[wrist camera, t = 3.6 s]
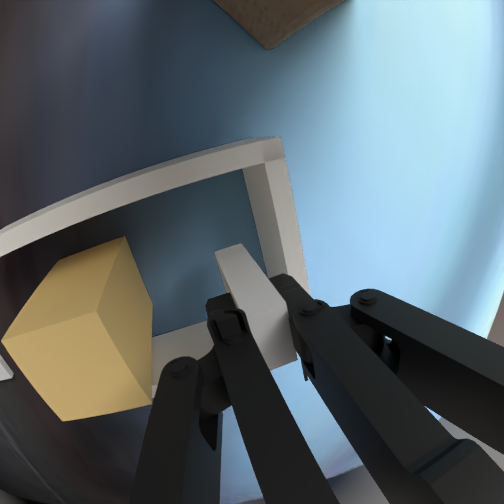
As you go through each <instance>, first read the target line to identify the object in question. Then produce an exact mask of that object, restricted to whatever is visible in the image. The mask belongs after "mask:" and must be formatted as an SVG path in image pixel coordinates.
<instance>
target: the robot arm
mask: <svg viewBox="0 0 504 504" xmlns="http://www.w3.org/2000/svg"><path fill="white" fill-rule="evenodd" d="M214 254H215V257H216V261H217V264H218V267H219V270H220V274H221V277H222V280H223V283H224V286H225V290H226V294H223V295H220V296H217V297H214V298H211V299H208V301H207V304H206V306H205V307H206V311H207V315H208V321H207V328H208V330H209V333H210V335H211V338H212V340H213V343H214V345H213V348H212V349H211V351H210V352H209V353H208V354H206V355H205V356H203V357H202V358H200V359H198V360H196V359H195V358H192V357H190V356H182V357H178V358H175V359H173V360H171V361H170V362H168V363H167V364H166V365H165V366H164V368H163V369H162V371H161V375H160V378H159V382H158V386H157V389H156V393H155V397H154V401H153V404H152V408H151V412H150V416H149V420H148V424H147V428H146V432H145V436H144V441H143V445H142V449H141V453H140V458H139V462H138V466H137V471H136V476H135V480H134V485H133V490H132V494H131V499H130V504H219V503H220V471H221V445H222V422H223V413H222V411H223V410H225V409H226V408H228V407H230V406H231V405H232V407H233V410H234V413H235V416H236V419H237V422H238V426H239V429H240V432H241V435H242V438H243V441H244V444H245V447H246V450H247V452H248V455H249V458H250V461H251V464H252V467H253V470H254V472H255V475H256V478H257V481H258V483H259V486H260V489H261V492H262V494H263V497H264V500H265V502H266V504H340V503H339V502H338V500H337V498H336V496H335V495H334V493H333V491H332V489H331V487H330V486H329V484H328V482H327V480H326V478H325V476H324V475H323V473H322V471H321V469H320V467H319V465H318V463H317V462H316V460H315V458H314V456H313V454H312V452H311V450H310V448H309V447H308V445H307V443H306V441H305V439H304V437H303V435H302V433H301V431H300V429H299V427H298V425H297V424H296V422H295V420H294V418H293V416H292V414H291V412H290V410H289V408H288V406H287V404H286V402H285V400H284V398H283V396H282V394H281V392H280V390H279V388H278V386H277V384H276V382H275V380H274V378H273V376H272V374H271V372H270V370H272V369H275V368H278V367H280V366H283V365H286V364H288V363H291V362H293V361H296V360H298V359H297V354H296V351H297V353H298V354H299V356H300V358H301V363H302V368H303V374H304V378H305V381H307V380H308V377H309V379H310V380H311V382H312V384H313V385H314V387H315V388H316V390H317V392H318V393H319V395H320V396H321V398H322V400H323V401H324V403H325V404H326V406H327V407H328V409H329V411H330V412H331V414H332V415H333V417H334V418H335V420H336V422H337V423H338V425H339V426H340V428H341V429H342V431H343V433H344V434H345V436H346V437H347V439H348V440H349V442H350V444H351V445H352V447H353V448H354V450H355V451H356V453H357V454H358V456H359V457H360V459H361V461H362V462H363V464H364V465H365V467H366V468H367V470H368V471H369V473H370V474H371V476H372V477H373V479H374V480H375V482H376V484H377V485H378V486H379V488H380V489H381V491H382V493H383V494H384V496H385V497H386V499H387V500H388V502H389V503H390V504H504V472H503V470H502V469H501V468H500V467H499V466H498V465H497V464H496V463H495V462H494V461H493V460H492V459H491V458H490V457H489V455H488V454H487V453H486V452H485V451H484V450H483V449H482V448H481V447H480V446H479V445H478V444H477V443H476V442H474V441H472V440H470V439H456V438H454V437H453V436H452V435H451V434H450V433H449V432H448V431H447V430H446V429H445V428H444V427H443V426H442V425H441V423H440V422H439V421H438V420H437V419H436V418H435V417H434V416H433V415H432V414H431V413H430V412H429V410H428V409H427V408H429V409H430V410H432V411H434V412H435V413H437V414H438V415H440V416H441V417H443V418H445V419H446V420H448V421H449V422H451V423H453V424H454V425H456V426H458V427H459V428H461V429H462V430H464V431H465V432H467V433H469V434H470V435H472V436H473V437H475V438H477V439H478V440H480V441H482V442H483V443H485V444H487V445H488V446H490V447H492V448H493V449H495V450H497V451H498V452H500V453H502V454H504V347H502V346H500V345H498V344H496V343H494V342H491V341H489V340H487V339H485V338H483V337H481V336H479V335H476V334H474V333H472V332H470V331H468V330H466V329H463V328H461V327H459V326H457V325H455V324H453V323H450V322H448V321H446V320H444V319H442V318H440V317H437V316H435V315H433V314H431V313H429V312H426V311H424V310H422V309H420V308H417V307H415V306H413V305H411V304H409V303H406V302H404V301H402V300H400V299H397V298H395V297H393V296H391V295H389V294H386V293H384V292H382V291H379V290H376V289H363V290H360V291H358V292H355V293H354V294H353V295H352V296H351V298H350V304H349V305H343V306H338V307H330V306H329V305H328V304H327V303H325V302H324V301H321V300H317V299H313V298H312V297H311V296H310V295H309V294H308V293H307V292H306V291H305V290H304V289H303V288H302V287H301V285H300V284H299V283H297V281H296V280H295V279H294V278H293V277H292V276H290V275H287V274H284V273H282V274H279V275H277V276H274V277H271V278H267V277H266V275H265V274H264V273H263V271H262V270H261V269H260V267H259V266H258V265H257V263H256V262H255V261H254V259H253V258H252V257H251V255H250V254H249V253H248V251H247V250H246V249H245V247H244V246H243V245H242V243H240V244H237V245H233V246H230V247H227V248H224V249H221V250H218V251H215V252H214ZM385 336H387V337H389V338H391V339H392V341H390V340H388V339H386V338H385ZM307 376H308V377H307ZM425 406H426V407H427V408H426V407H425Z"/></svg>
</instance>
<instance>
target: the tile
mask: <svg viewBox="0 0 504 504" xmlns="http://www.w3.org/2000/svg"><path fill="white" fill-rule="evenodd" d="M13 374H14V373H13V372H12V371H11V369H10V368H9V366H8V365H7V364H6V362H5V361H4V359H3V358H2V356H1V355H0V381H1V380H6V379H10V378H12V377H13Z"/></svg>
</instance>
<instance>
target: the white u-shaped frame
mask: <svg viewBox="0 0 504 504" xmlns="http://www.w3.org/2000/svg"><path fill="white" fill-rule="evenodd" d="M238 169H242V171H243V175H244V179H245V183H246V187H247V191H248V195H249V200H250V204H251V208H252V212H253V216H254V220H255V225H256V229H257V233H258V237H259V241H260V246H261V250H262V254H263V258H264V263H265V267H266V271H267V275H268V278H271V277H274V276H277V275H279V274H282V273H284V274H287V275H290V276H292V277H293V278H294V279H295V280H296V281H297V283H299V284H300V285H301V287H302V288H303V289H304V290H305V291H306V292H307V293H308V294H309V295H310V291H309V285H308V278H307V272H306V266H305V260H304V254H303V249H302V243H301V237H300V232H299V226H298V221H297V215H296V210H295V205H294V200H293V195H292V190H291V185H290V180H289V175H288V170H287V165H286V160H285V156H284V151H283V146H282V142H281V137H257V138H248V139H244V140H240V141H236V142H232V143H228V144H224V145H220V146H217V147H213V148H209V149H206V150H202V151H198V152H195V153H191V154H188V155H185V156H181V157H178V158H175V159H171V160H168V161H165V162H162V163H159V164H156V165H153V166H150V167H147V168H144V169H141V170H138V171H135V172H132V173H129V174H126V175H124V176H121V177H118V178H115V179H113V180H110V181H107V182H105V183H102V184H100V185H97V186H94V187H92V188H89V189H87V190H84V191H82V192H80V193H77V194H75V195H72V196H70V197H68V198H65V199H63V200H61V201H58V202H56V203H54V204H52V205H49V206H47V207H45V208H43V209H41V210H38V211H36V212H34V213H32V214H30V215H28V216H26V217H24V218H22V219H20V220H18V221H16V222H14V223H12V224H10V225H8V226H6V227H4V228H3V229H1V230H0V257H1V256H3V255H5V254H7V253H9V252H11V251H13V250H16V249H18V248H20V247H22V246H24V245H26V244H29V243H31V242H33V241H35V240H38V239H40V238H42V237H45V236H47V235H49V234H52V233H54V232H56V231H59V230H61V229H64V228H66V227H68V226H71V225H73V224H76V223H78V222H81V221H83V220H86V219H89V218H91V217H94V216H96V215H99V214H102V213H104V212H107V211H110V210H112V209H115V208H118V207H121V206H123V205H126V204H129V203H132V202H135V201H138V200H140V199H143V198H146V197H149V196H152V195H155V194H158V193H161V192H164V191H167V190H170V189H174V188H177V187H180V186H183V185H186V184H190V183H193V182H196V181H200V180H203V179H206V178H210V177H213V176H217V175H220V174H224V173H227V172H231V171H234V170H238ZM207 321H208V320H206V321H203V322H200V323H197V324H194V325H191V326H187V327H184V328H181V329H178V330H175V331H171V332H168V333H165V334H162V335H158V336H155V337H152V398H154V397H155V393H156V389H157V386H158V382H159V378H160V375H161V371H162V369H163V368H164V366H165V365H166V364H167V363H168V362H170V361H171V360H173V359H175V358H178V357H182V356H190V357H192V358H195V359H196V360H198V359H200V358H202V357H203V356H205V355H206V354H208V353H209V352H210V351H211V349H212V348H213V345H214V343H213V340H212V338H211V335H210V333H209V330H208V328H207Z"/></svg>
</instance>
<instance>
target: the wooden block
mask: <svg viewBox="0 0 504 504" xmlns="http://www.w3.org/2000/svg"><path fill="white" fill-rule="evenodd" d="M213 1H214V2H215V3H217V4H218V5H219V6H220V7H221V8H222V9H223V10H225V11H226V12H227V13H228V14H229V15H230V16H231V17H232V18H233V19H235V20H236V21H237V22H238V23H239V24H240V25H241V26H242V27H243V28H244V29H245V30H246V31H247V32H248V33H249V34H250V35H251V36H252V37H253V38H255V39H256V40H257V41H258V42H259V43H260V44H261V45H262V46H263V47H264V48H266V49H272V48H275V47H276V46H278V45H279V44H280V43H282V42H283V41H284V40H286V39H287V38H289V37H290V36H291V35H293V34H294V33H296V32H297V31H298V30H300V29H301V28H303V27H304V26H306V25H307V24H309V23H310V22H312V21H313V20H315V19H316V18H318V17H319V16H321V15H322V14H324V13H325V12H327V11H329V10H330V9H332V8H333V7H335V6H337V5H338V4H340V3H342V2H343V1H345V0H213Z"/></svg>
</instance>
